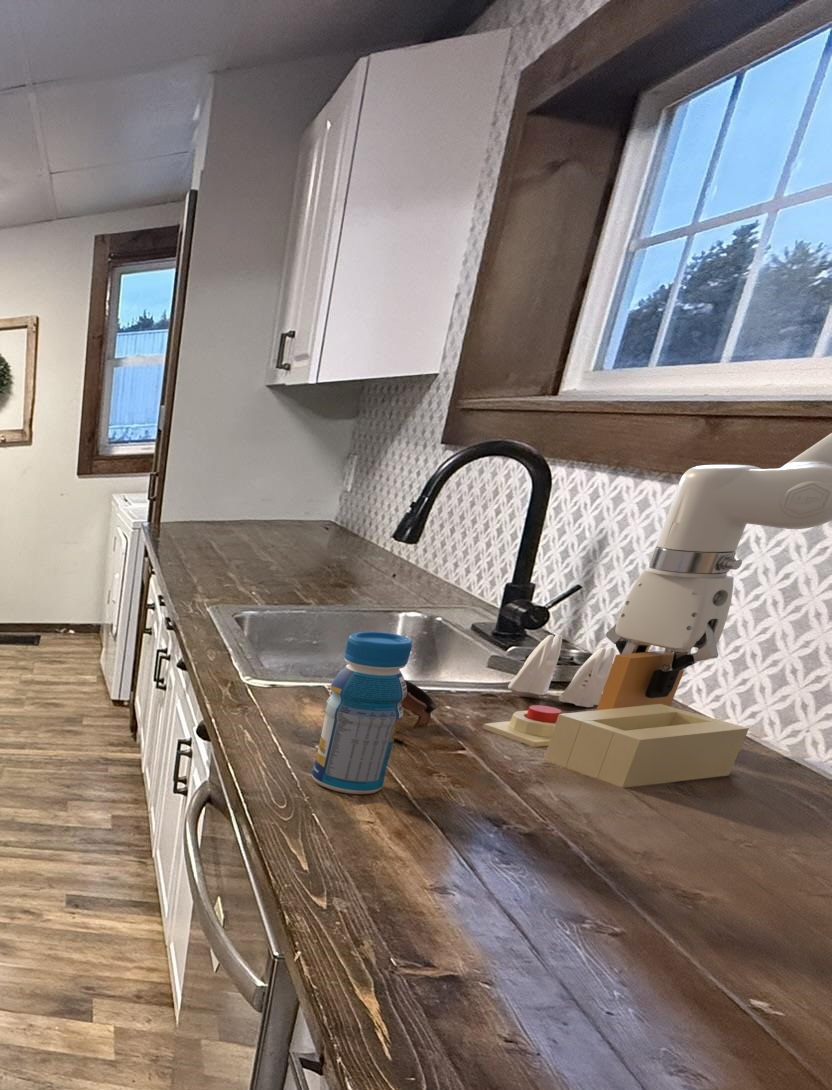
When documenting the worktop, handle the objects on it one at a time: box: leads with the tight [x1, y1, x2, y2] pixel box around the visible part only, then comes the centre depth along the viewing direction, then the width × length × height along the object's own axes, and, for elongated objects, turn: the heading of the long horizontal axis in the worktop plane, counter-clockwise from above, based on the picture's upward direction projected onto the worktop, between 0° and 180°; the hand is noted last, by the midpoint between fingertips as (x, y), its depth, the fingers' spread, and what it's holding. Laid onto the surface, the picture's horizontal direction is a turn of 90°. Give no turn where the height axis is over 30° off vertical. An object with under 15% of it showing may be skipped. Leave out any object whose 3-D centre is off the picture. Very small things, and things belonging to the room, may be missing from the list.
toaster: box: [543, 704, 750, 788], centre depth 107 cm, size 16×10×8 cm, turn 99°
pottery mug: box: [401, 679, 438, 728], centre depth 128 cm, size 12×10×8 cm
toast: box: [596, 649, 692, 710], centre depth 118 cm, size 10×2×13 cm, turn 99°
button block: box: [482, 710, 556, 748], centre depth 120 cm, size 10×8×4 cm
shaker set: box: [507, 633, 615, 708], centre depth 135 cm, size 12×4×11 cm, turn 52°
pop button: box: [526, 704, 563, 723], centre depth 119 cm, size 4×4×2 cm
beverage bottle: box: [311, 631, 413, 795], centre depth 106 cm, size 8×8×20 cm
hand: (641, 691), depth 118 cm, fingers open, 3 cm apart
